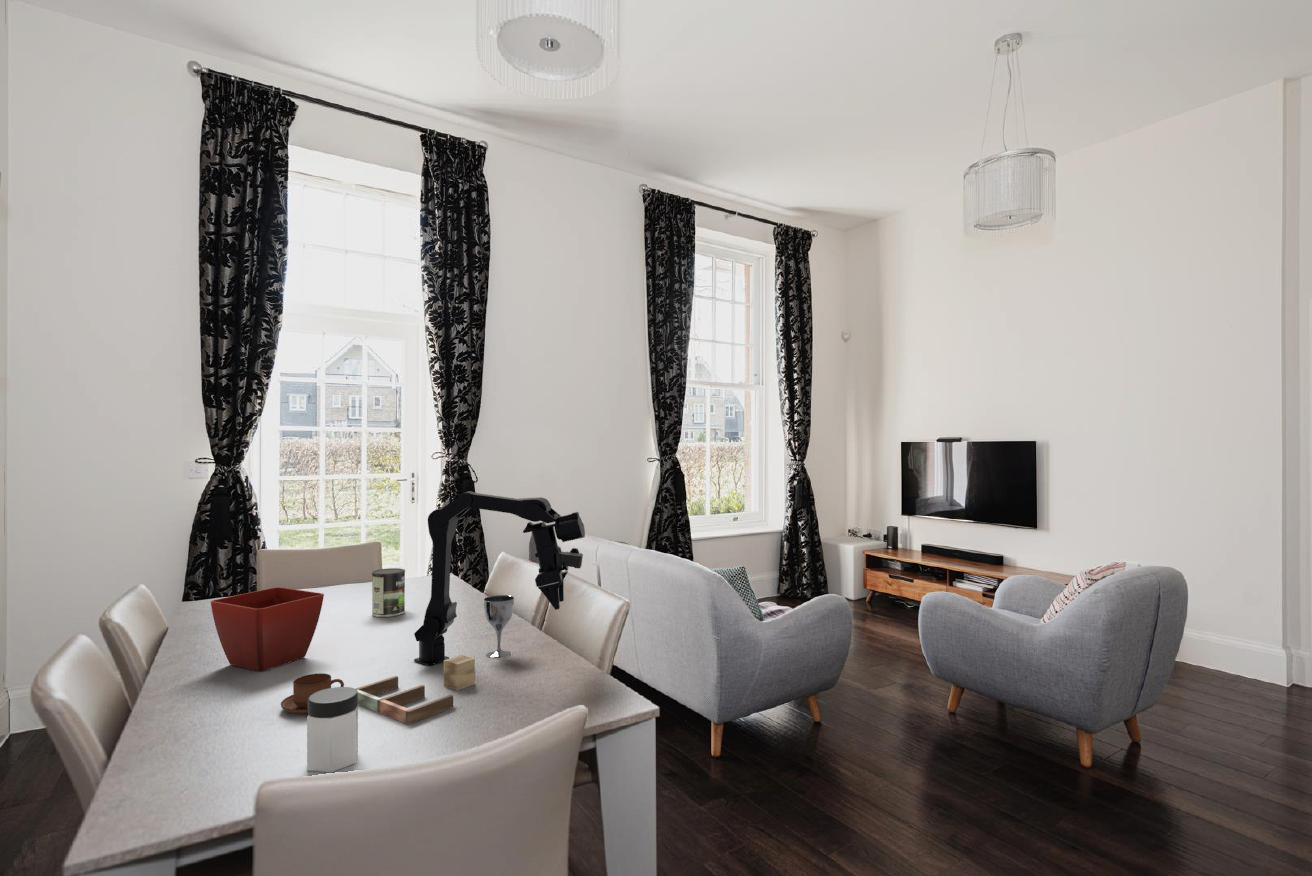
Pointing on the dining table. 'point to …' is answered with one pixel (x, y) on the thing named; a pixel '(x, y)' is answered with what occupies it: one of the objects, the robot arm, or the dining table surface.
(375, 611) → the coffee can
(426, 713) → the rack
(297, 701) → the cup and saucer
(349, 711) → the jar
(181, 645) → the dining table surface
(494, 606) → the wine glass
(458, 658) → the block
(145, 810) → the dining table surface
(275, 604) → the plant pot
